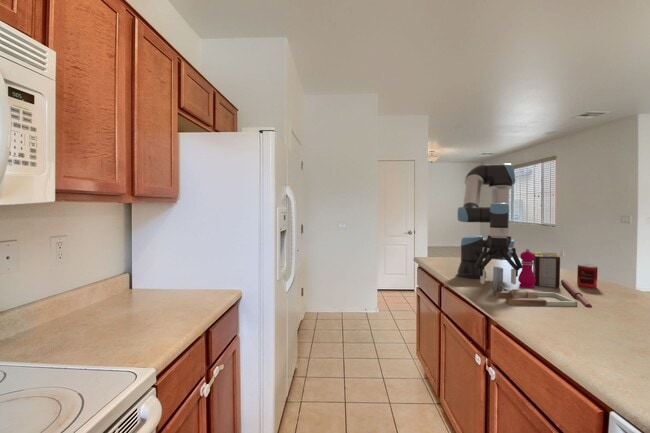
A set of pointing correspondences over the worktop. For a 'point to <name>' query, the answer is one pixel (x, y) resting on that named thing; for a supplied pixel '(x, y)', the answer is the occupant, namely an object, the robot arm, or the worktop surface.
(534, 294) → the light wooden cube
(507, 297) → the groove board
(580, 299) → the rolling pin
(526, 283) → the pepper mill
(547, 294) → the tray
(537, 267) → the protein box
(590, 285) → the canned food
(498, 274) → the t-shaped gray bracket
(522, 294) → the beige cube
